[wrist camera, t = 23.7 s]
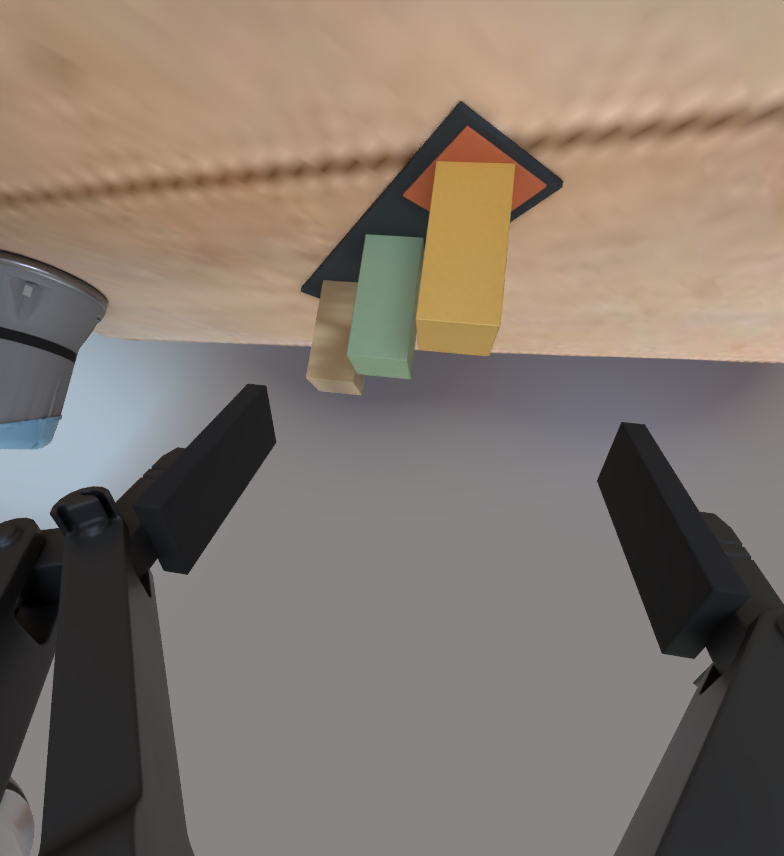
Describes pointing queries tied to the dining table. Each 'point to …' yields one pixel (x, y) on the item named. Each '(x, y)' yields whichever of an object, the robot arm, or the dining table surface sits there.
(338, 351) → the tan tall block
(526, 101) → the dining table surface
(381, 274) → the sage I block
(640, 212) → the dining table surface
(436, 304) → the tall mustard brick
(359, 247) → the word mat
